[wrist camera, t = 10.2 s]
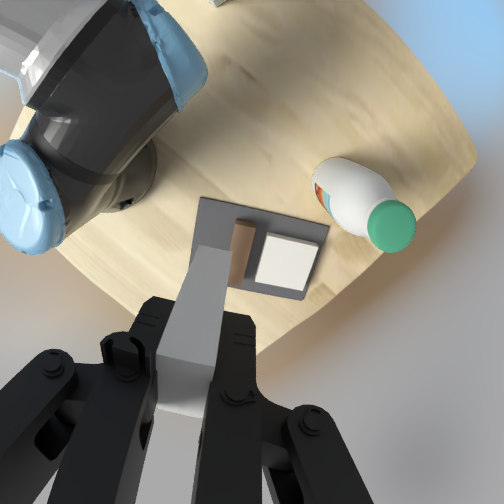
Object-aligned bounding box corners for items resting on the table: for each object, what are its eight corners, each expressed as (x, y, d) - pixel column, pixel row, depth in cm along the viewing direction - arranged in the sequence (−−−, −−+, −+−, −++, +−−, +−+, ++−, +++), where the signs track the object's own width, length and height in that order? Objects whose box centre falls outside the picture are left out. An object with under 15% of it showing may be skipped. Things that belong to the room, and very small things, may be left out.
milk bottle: (308, 158, 38) (355, 189, 20) (358, 155, 38) (434, 184, 20) (312, 209, 42) (355, 275, 24) (360, 204, 41) (426, 263, 23)
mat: (187, 276, 47) (187, 278, 46) (200, 197, 41) (199, 197, 41) (301, 299, 49) (301, 300, 48) (328, 226, 43) (328, 227, 42)
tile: (254, 281, 45) (302, 290, 45) (267, 235, 41) (318, 247, 42) (255, 276, 46) (301, 285, 47) (267, 231, 43) (316, 242, 44)
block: (223, 275, 46) (222, 283, 44) (236, 218, 42) (235, 223, 40) (241, 279, 46) (241, 286, 44) (255, 222, 42) (255, 228, 40)
